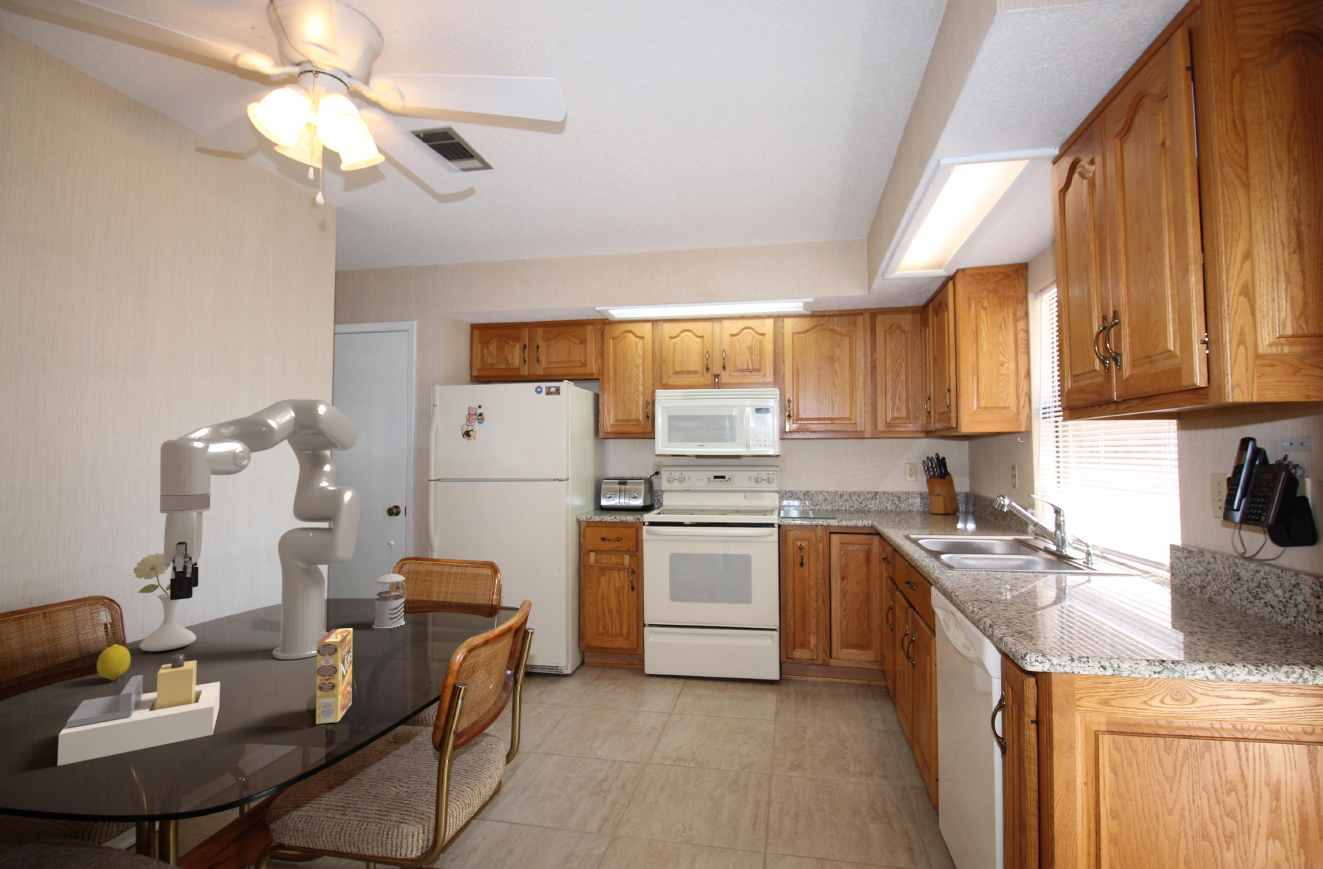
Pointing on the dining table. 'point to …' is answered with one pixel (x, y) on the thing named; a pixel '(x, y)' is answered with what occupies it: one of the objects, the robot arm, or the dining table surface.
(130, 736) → the socket
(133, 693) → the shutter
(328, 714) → the candy box
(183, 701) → the plug
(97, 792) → the dining table surface
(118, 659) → the lemon
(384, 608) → the french press
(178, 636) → the flower in vase
